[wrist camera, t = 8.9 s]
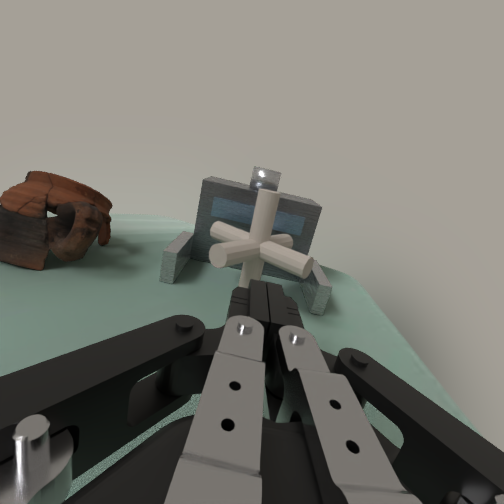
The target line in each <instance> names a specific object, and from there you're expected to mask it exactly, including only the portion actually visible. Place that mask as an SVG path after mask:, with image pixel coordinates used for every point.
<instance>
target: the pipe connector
mask: <svg viewBox="0 0 504 504" xmlns="http://www.w3.org/2000/svg"><path fill="white" fill-rule="evenodd" d="M280 194H281V193H279V192H275V191H271V190H267V189H259V191H258V196H257V201H256V205H255V210H254V215H253V219H252V224H251V229H250V233H248V232H246V231H243V230H241V229H238V228H236V227H233V226H230V225H228V224H225V223H223V222H220V221H217V222H215V223H214V224H213V225H212V227H211V229H210V235H211V237H212V238H213V239H215V240H218V241H220V242H222V243H219V244H214V245H213V246H211V248H210V251H209V259H210V261H211V264H212V265H213V266H214V267H216V268H224V267H227V266H231V265H235V264H239V263H243V266H242V271H241V276H240V281H239V285H238V286H239V287H243V288H248V286H249V282H250V279H254V280H259V281H260V279H261V274H262V270H263V266H264V262H267V263H269V264H272V265H274V266H276V267H278V268H281V269H283V270H285V271H287V272H290V273H292V274H294V275H296V276H299V277H301V278H304V279H305V278H306V277H308V275H309V274H310V272H311V270H312V267H313V263H314V259H313V258H312V257H309V256H307V255H304V254H302V253H299V252H297V251H294V250H292V249H291V248H292V246H293V240H292V238H291V236H290V235H288V234H279V235H272V236H271V232H272V228H273V224H274V220H275V215H276V211H277V207H278V203H279V198H280Z"/></svg>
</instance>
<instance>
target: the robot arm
mask: <svg viewBox="0 0 504 504" xmlns="http://www.w3.org/2000/svg"><path fill="white" fill-rule="evenodd" d="M155 371H157V372H156V373H154V374H152V375H150V376H149V377H147V378H145V379H143V380H141V381H139V380H140V379H142V378H143V377H145V376H147V375H149V374H151V373H153V372H155ZM264 378H265V380H264ZM138 381H139V382H138ZM200 393H202V394H201V397H200V400H199V403H198V407H197V410H196V413H195V415H191V416H187V417H183V418H180V419H178V420H175V421H173V422H171V423H169V424H168V425H166V426H164V427H163V428H161V429H160V430H158V431H157V432H156V433H154V434H153V435H152V436H150V437H149V438H148V439H146V440H145V441H144V442H142V443H141V444H140V445H138V446H137V447H136V448H134V449H133V450H132V451H130V452H129V453H128V454H126V455H125V456H124V457H122V458H121V459H120V460H118V461H117V462H116V463H115V464H113V465H112V466H111V467H109V468H108V469H107V470H105V471H104V472H103V473H101V474H100V475H99V476H97V477H96V478H95V479H93V480H92V481H91V482H89V483H88V484H87V485H85V486H84V487H83V488H81V489H80V490H79V491H77V492H76V493H75V494H73V495H72V496H71V497H69V498H68V499H67V500H65V499H66V497H67V495H68V493H69V491H70V488H71V485H72V481H73V480H74V479H76V478H77V477H79V476H80V475H82V474H83V473H84V472H86V471H87V470H89V469H90V468H92V467H93V466H95V465H96V464H98V463H99V462H101V461H102V460H104V459H105V458H107V457H108V456H109V455H111V454H112V453H114V452H115V451H117V450H118V449H120V448H121V447H123V446H124V445H126V444H127V443H129V442H130V441H132V440H133V439H134V438H136V437H137V436H139V435H140V434H142V433H143V432H145V431H146V430H148V429H149V428H151V427H152V426H154V425H155V424H157V423H158V422H159V421H161V420H162V419H164V418H165V417H167V416H168V415H170V414H171V413H173V412H174V411H176V410H177V409H179V408H180V407H182V406H183V405H184V404H186V403H187V402H188V401H189V400H190V398H191V396H192V394H200ZM367 401H368V402H369V403H371V404H372V405H373V406H374V407H375V408H377V409H378V410H379V411H380V412H381V413H382V414H384V415H385V416H386V417H387V418H388V419H390V420H391V421H392V422H393V423H394V424H395V425H397V426H398V428H399V429H400V430H401V432H402V434H403V438H404V443H403V445H402V447H401V449H399V448H397V447H396V446H395V445H394V444H392V443H391V442H390V441H389V440H388V439H387V438H386V437H385V436H384V435H382V434H381V433H380V432H379V431H378V430H377V429H376V428H375V427H374V426H373V425H371V424H370V423H369V421H368V419H367V417H366V415H365V413H364V411H363V408H364V406H365V404H366V402H367ZM263 410H264V417H262V416H263ZM0 504H504V452H502V451H501V450H500V449H498V448H497V447H495V446H494V445H493V444H491V443H490V442H488V441H487V440H486V439H484V438H483V437H481V436H480V435H479V434H477V433H476V432H474V431H473V430H472V429H470V428H469V427H468V426H466V425H465V424H463V423H462V422H461V421H459V420H458V419H456V418H455V417H454V416H452V415H451V414H449V413H448V412H447V411H445V410H444V409H442V408H441V407H440V406H438V405H437V404H435V403H434V402H433V401H431V400H430V399H428V398H427V397H426V396H424V395H423V394H421V393H420V392H419V391H417V390H416V389H414V388H413V387H412V386H410V385H409V384H407V383H406V382H405V381H403V380H402V379H400V378H399V377H398V376H396V375H395V374H393V373H392V372H391V371H389V370H388V369H386V368H385V367H384V366H382V365H381V364H379V363H378V362H377V361H375V360H374V359H372V358H371V357H370V356H368V355H367V354H365V353H363V352H361V351H359V350H356V349H352V348H344V349H341V350H340V351H339V354H338V356H334V355H332V354H330V353H327V352H325V351H322V350H321V349H319V346H318V344H317V342H316V340H315V338H314V337H313V335H312V334H311V333H309V332H308V331H306V330H305V329H304V327H303V324H302V320H301V317H300V313H299V311H298V307H297V303H296V302H295V301H294V300H293V299H292V298H291V297H287V296H284V293H283V289H282V285H278V284H274V283H269V282H264V281H259V280H254V279H250V282H249V286H248V288H243V287H239V286H238V287H237V288H235V289H234V290H233V292H232V296H231V301H230V305H229V310H228V314H227V319H226V324H225V325H224V326H222V327H220V328H216V329H205V326H204V324H203V322H202V321H200V320H199V319H197V318H195V317H193V316H189V315H175V316H171V317H168V318H166V319H163V320H160V321H157V322H154V323H151V324H149V325H146V326H143V327H140V328H137V329H135V330H132V331H129V332H126V333H123V334H120V335H118V336H115V337H112V338H109V339H106V340H103V341H101V342H98V343H95V344H92V345H89V346H86V347H84V348H81V349H78V350H75V351H72V352H69V353H67V354H64V355H61V356H58V357H55V358H53V359H50V360H47V361H44V362H41V363H38V364H36V365H33V366H30V367H27V368H24V369H21V370H19V371H16V372H13V373H10V374H7V375H4V376H2V377H0Z"/></svg>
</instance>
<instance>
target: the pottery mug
mask: <svg viewBox="0 0 504 504" xmlns="http://www.w3.org/2000/svg"><path fill="white" fill-rule="evenodd" d="M0 204H1V205H0V261H2V262H6V263H9V264H14V265H17V266H22V267H26V268H30V269H35V270H43V268H44V265H45V259H46V258H47V256H48V253H49V250H50V249H51V250H52V252H53V253H54V254H55V256H56V257H58V258H59V259H61V260H62V261H64V262H69V261H75V260H79V259H82V258H83V257H84V255H85V253H86V251H87V250H88V247H89V246H90V245H91V244H92V243H93V242H94V240H95V239H96V237H97V236H98V243H99V245H106V244H108V243H109V239H110V237H111V236H110V233H111V229H110V222H111V217H110V216H109V211H110V209H111V208H112V203H111V202H110V200H108V199H107V198H106V197H105V196H103V195H102V194H101V193H100V192H98V191H96V190H94V189H92V188H90V187H88V186H86V185H84V184H81V183H79V182H76V181H74V180H71V179H68V178H66V177H62V176H59V175H56V174H52V173H47V172H42V171H32V172H31V171H30V172H28V174H27V176H26V180H25V182H23V183H20V184H17V185H16V186H13V187H11V188H9V189H8V190H7V191H4V192H3V194H2V196H1V197H0ZM47 211H49V212H52V213H53V214H56V215H58V216H55V217H49V218H48V217H47Z"/></svg>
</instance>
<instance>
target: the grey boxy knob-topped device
mask: <svg viewBox="0 0 504 504" xmlns="http://www.w3.org/2000/svg"><path fill="white" fill-rule="evenodd" d="M280 176H281V173H280V172H277V171H273V170H269V169H265V168H260V167H256V166H254V168H253V173H252V178H251V182H250V185H247V184H243V183H239V182H234V181H230V180H225V179H221V178H217V177H212V176H211V177H208V178H205V179H203V182H202V188H201V194H200V201H199V206H198V212H197V218H196V224H195V230H194V233H189V232H185V231H183V232H182V233H181V234H180V235H179V236H178V237H177V238H176V239H175V240H174V241H173V242H172V243H171V244H170V245H169V246H168V247H167V248H165V249H164V250H163V257H162V265H161V272H160V279H159V281H161V282H165V283H170V284H173V282H174V281H175V279H176V278H177V276H178V275H179V273H180V272H181V271H182V269H183V268H184V266H185V265H186V263H187V262H188V260H189V259H190V258H191V259H195V260H200V261H205V262H209V263H211V261H210V259H209V251H210V248H211V246H213V245H214V244H219V243H222V242H220V241H218V240H215V239H213V238H212V237H211V235H210V229H211V227H212V225H213V224H214V223H215V222H217V221H220V222H223V223H225V224H228V225H230V226H233V227H236V228H238V229H241V230H243V231H246V232H248V233H250V229H251V224H252V219H253V215H254V210H255V205H256V201H257V196H258V191H259V189H267V190H271V191H275V192H277V188H278V184H279V180H280ZM279 193H281V192H279ZM321 210H322V207H321V206H320V205H318V204H317V203H316V202H314V201H313V200H311V199H307V198H302V197H298V196H294V195H290V194H285V193H281V194H280V198H279V203H278V207H277V211H276V215H275V220H274V224H273V228H272V232H271V236H272V235H279V234H288V235H290V236H291V238H292V240H293V246H292V248H291V249H292V250H294V251H297V252H299V253H302V254H304V255H308V252H309V249H310V245H311V242H312V239H313V236H314V232H315V229H316V226H317V223H318V219H319V216H320V213H321ZM242 266H243V263H239V264H235V265H231V266H228V267H232V268H237V269H242ZM262 274H265V275H269V276H274V277H278V278H283V279H288V280H292V281H297V282H299V283H300V285H301V288H302V291H303V294H304V297H305V300H306V303H307V305H308V308H309V311H310V313H312V314H317V315H322V316H323V313H324V310H325V307H326V304H327V301H328V299H329V296H330V293H331V290H332V286H331V284H330V282H329V281H328V279H327V277H326V276H325V274H324V272H323V271H322V269H321V267H320V266H319V264H318V262H317V261H315V260H314V263H313V267H312V270H311V272H310V274H309V275H308V277H306V278H305V279H304V278H301V277H299V276H296V275H294V274H292V273H290V272H287V271H285V270H283V269H281V268H278V267H276V266H274V265H272V264H269V263H267V262H264V266H263V270H262Z"/></svg>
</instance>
